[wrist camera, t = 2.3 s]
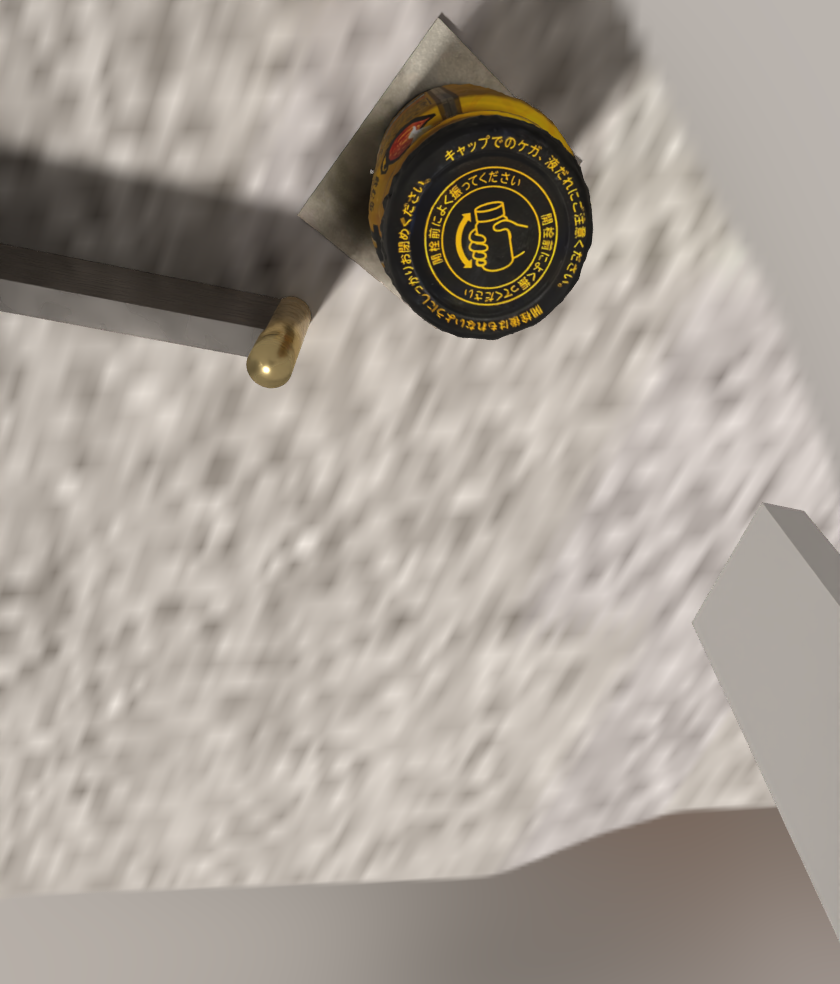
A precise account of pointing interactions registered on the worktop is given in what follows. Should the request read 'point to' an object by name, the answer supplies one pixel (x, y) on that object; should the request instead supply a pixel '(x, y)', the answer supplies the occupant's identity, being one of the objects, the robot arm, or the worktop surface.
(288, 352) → the grey open rectangular box
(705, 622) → the robot arm
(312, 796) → the worktop surface
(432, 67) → the condiment
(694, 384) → the worktop surface
